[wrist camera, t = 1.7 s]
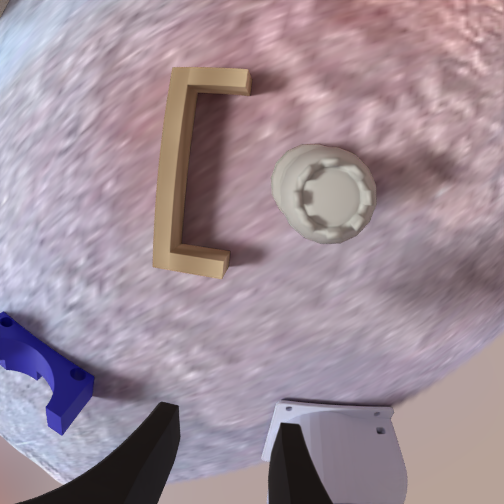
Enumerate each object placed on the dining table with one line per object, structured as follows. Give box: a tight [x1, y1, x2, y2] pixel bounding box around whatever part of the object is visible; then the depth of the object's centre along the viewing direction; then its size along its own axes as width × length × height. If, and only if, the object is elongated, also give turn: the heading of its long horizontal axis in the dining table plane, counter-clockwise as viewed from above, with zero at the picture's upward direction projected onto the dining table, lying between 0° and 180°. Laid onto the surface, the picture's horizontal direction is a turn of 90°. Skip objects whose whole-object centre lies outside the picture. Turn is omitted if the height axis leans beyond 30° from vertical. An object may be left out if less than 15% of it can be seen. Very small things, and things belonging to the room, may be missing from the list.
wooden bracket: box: [153, 67, 252, 279], centre depth 16 cm, size 4×11×2 cm, turn 173°
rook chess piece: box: [271, 144, 376, 244], centre depth 13 cm, size 4×4×8 cm
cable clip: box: [0, 311, 94, 435], centre depth 20 cm, size 12×4×6 cm, turn 66°
